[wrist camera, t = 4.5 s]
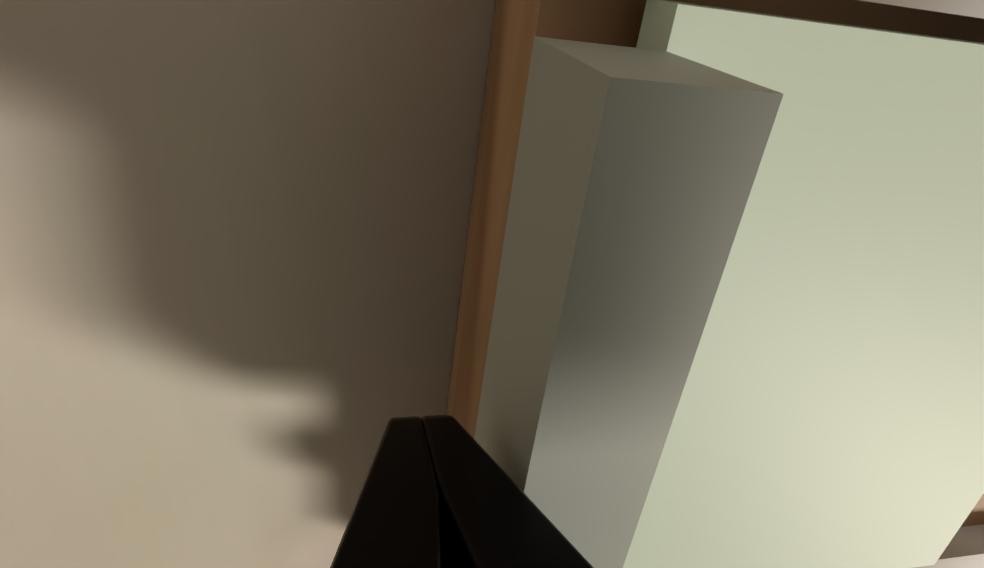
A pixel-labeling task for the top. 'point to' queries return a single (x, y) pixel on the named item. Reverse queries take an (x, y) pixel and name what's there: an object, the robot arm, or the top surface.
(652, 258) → the lid
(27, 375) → the top surface
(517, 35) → the wooden container
